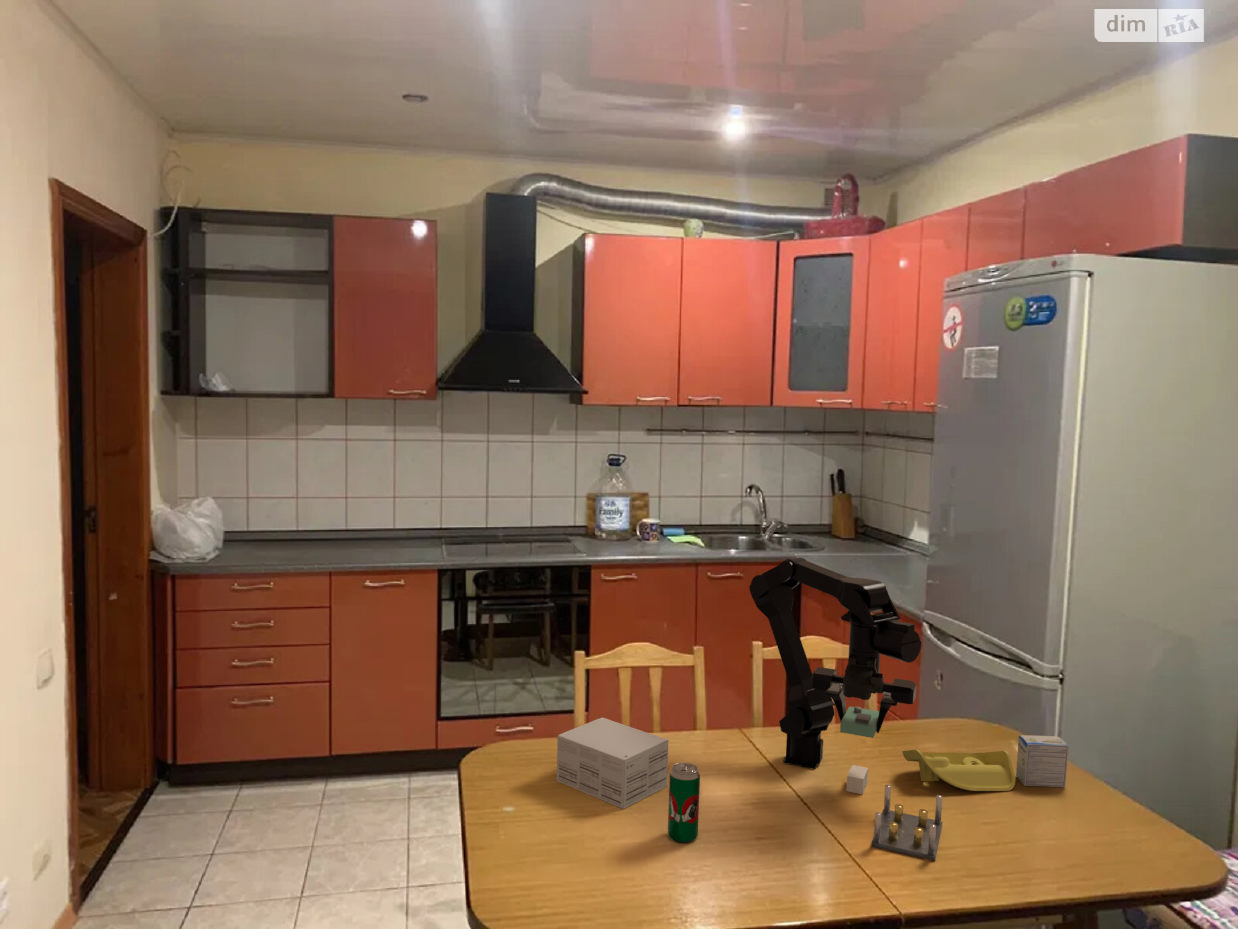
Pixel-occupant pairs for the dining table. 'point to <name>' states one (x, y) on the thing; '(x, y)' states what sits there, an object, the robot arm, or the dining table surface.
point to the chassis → (907, 830)
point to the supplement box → (612, 762)
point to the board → (860, 722)
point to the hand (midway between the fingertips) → (860, 729)
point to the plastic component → (966, 769)
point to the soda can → (683, 802)
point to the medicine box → (1042, 761)
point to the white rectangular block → (857, 779)
